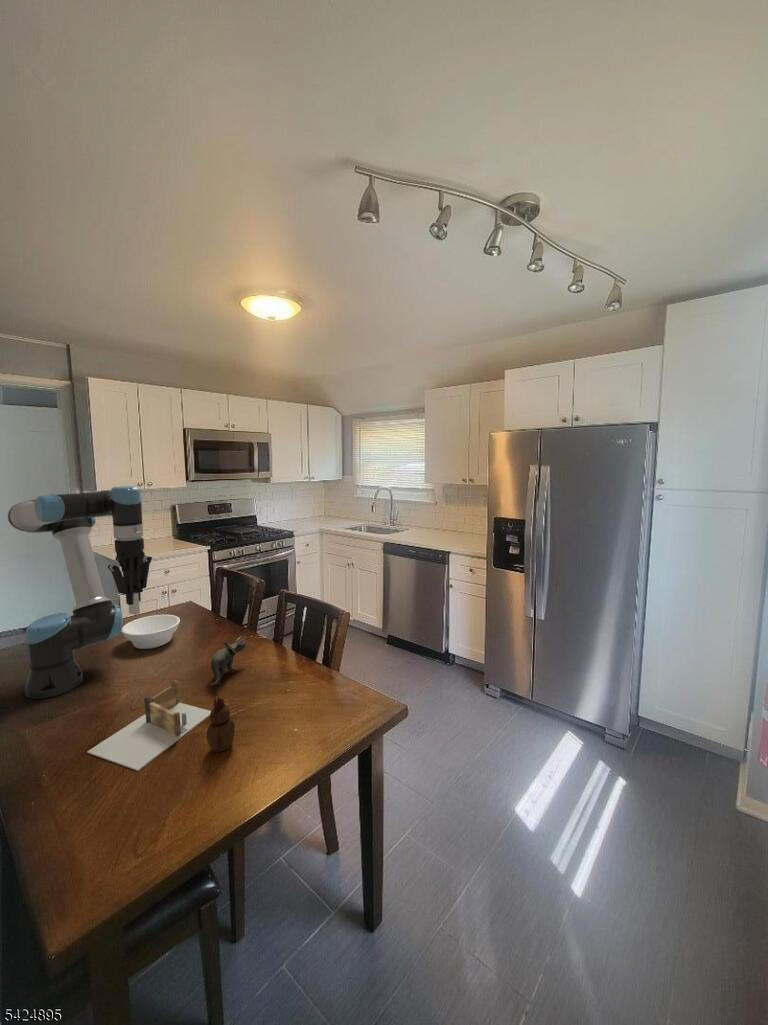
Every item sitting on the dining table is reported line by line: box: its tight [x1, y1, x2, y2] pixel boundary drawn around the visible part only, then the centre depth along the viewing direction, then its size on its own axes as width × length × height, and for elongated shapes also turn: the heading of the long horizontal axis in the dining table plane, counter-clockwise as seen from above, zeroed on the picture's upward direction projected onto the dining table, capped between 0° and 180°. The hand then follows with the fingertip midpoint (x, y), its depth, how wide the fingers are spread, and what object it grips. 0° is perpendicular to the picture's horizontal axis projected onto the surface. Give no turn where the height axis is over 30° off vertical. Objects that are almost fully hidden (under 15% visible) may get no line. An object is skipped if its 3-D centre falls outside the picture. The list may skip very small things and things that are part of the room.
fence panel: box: [149, 702, 181, 736], centre depth 116 cm, size 12×1×6 cm, turn 60°
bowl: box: [121, 614, 181, 650], centre depth 172 cm, size 21×21×8 cm
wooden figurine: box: [206, 696, 236, 753], centre depth 109 cm, size 7×6×15 cm
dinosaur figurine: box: [209, 634, 247, 686], centre depth 144 cm, size 22×8×11 cm, turn 168°
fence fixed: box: [143, 679, 180, 723], centre depth 125 cm, size 2×11×8 cm, turn 159°
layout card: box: [86, 701, 211, 772], centre depth 116 cm, size 18×25×3 cm
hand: (134, 613), depth 129 cm, fingers closed
